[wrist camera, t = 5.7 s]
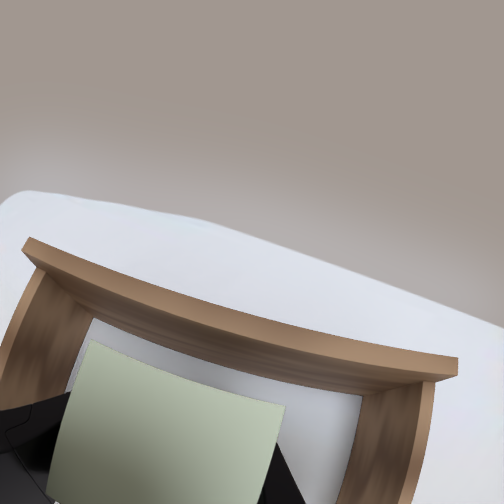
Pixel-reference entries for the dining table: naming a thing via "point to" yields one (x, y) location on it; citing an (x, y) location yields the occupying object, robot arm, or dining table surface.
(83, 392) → the block
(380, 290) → the dining table surface
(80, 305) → the open box
